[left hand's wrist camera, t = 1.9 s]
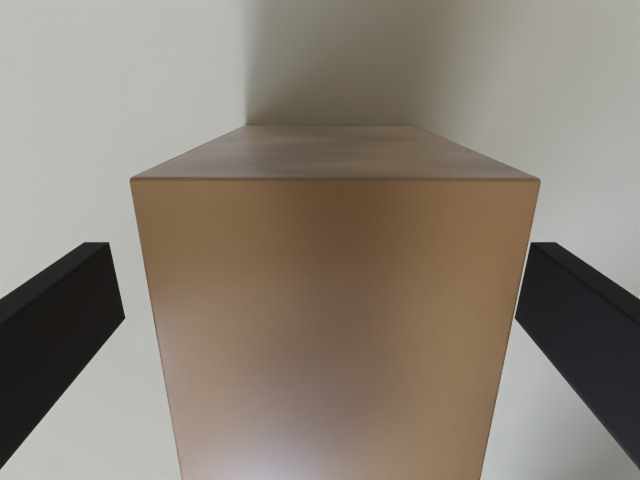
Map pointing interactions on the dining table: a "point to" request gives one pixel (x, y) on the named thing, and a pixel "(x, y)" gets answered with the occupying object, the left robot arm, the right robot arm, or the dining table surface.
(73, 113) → the dining table surface
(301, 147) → the brown wooden block
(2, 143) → the dining table surface
